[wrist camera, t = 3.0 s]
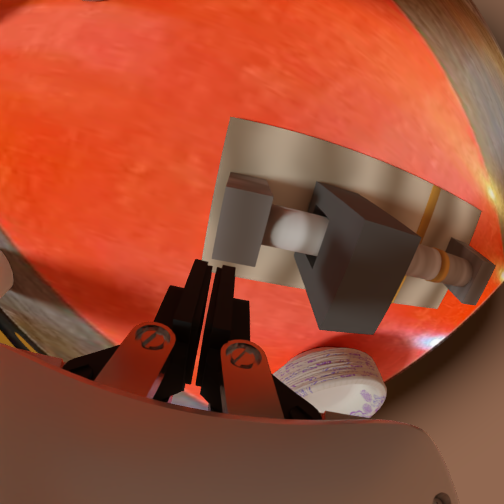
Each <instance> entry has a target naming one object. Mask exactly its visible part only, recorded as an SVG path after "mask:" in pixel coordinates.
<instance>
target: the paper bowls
mask: <svg viewBox="0 0 504 504" xmlns="http://www.w3.org/2000/svg"><path fill="white" fill-rule="evenodd" d="M273 375H274V376H275V377H276V378H278V379H279V380H280V381H281V382H283V383H284V384H285V385H287V386H288V387H289V388H290V389H292V390H293V391H294V392H296V393H297V394H298V395H300V396H301V397H302V398H304V399H305V400H306V401H308V402H309V403H310V404H312V405H313V406H314V407H315V408H316V409H317V410H318V411H319V412H320V413H324V412H325V411H330V412H336V413H341V414H347V415H353V416H360V417H367V418H370V417H371V416H372V415H373V414H374V413H375V412H376V411H378V409H379V408H380V407H381V406H382V404H383V402H384V400H385V398H386V393H387V388H386V386H385V384H384V382H383V379H382V377H381V374H380V372H379V370H378V368H377V366H376V364H375V362H374V360H373V359H372V357H370V356H369V355H368V354H366V353H365V352H362V351H360V350H356V349H351V348H335V347H322V348H316V349H312V350H308V351H306V352H303V353H301V354H299V355H297V356H295V357H294V358H292V359H291V360H289V361H288V362H287V363H286V364H285V365H284V366H283V367H281V368H280V369H279V370H278V371H276V372H275V373H274V374H273Z"/></svg>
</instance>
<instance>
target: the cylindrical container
mask: <svg viewBox="0 0 504 504" xmlns="http://www.w3.org/2000/svg"><path fill="white" fill-rule="evenodd" d="M13 282H14V278H13V273H12V269H11V266H10V264H9V262H8V260H7V258H6V257H5V255H4V254H3V252H2V251H1V250H0V298H1V297H2V296H3V295H4V294H5V293H6V292H7V291H8V290H9V289H10V288H11V287H12V286H13Z"/></svg>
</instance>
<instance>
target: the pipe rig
mask: <svg viewBox="0 0 504 504" xmlns="http://www.w3.org/2000/svg"><path fill="white" fill-rule="evenodd" d="M316 181H318V182H321V183H325V184H328V185H332V186H335V187H338V188H342V189H345V190H348V191H351V192H355V193H358V194H359V195H361V196H363V197H364V198H366V199H367V200H369V201H370V202H372V203H373V204H375V205H376V206H378V207H379V208H381V209H382V210H384V211H385V212H387V213H388V214H390V215H391V216H393V217H394V218H395V219H397V220H398V221H400V222H401V223H403V224H404V225H405V226H407V227H408V228H409V229H411V230H412V231H414V232H415V233H416V234H418V235H419V236H420V237H422V238H421V241H420V243H419V245H418V248H417V250H416V252H415V255H414V257H413V259H412V261H411V264H410V266H409V268H408V270H407V272H406V274H405V277H404V279H403V281H402V283H401V285H400V287H399V289H398V291H397V293H396V295H395V297H394V299H393V300H392V302H391V303H397V304H405V305H412V306H419V307H427V308H435V309H437V308H438V307H439V305H440V303H441V301H442V299H443V298H444V296H445V294H446V292H447V290H448V289H449V290H450V291H451V292H452V293H453V294H454V295H455V296H456V297H457V298H458V300H459V301H460V302H461V303H464V304H470V305H476V304H477V302H478V300H479V298H480V296H481V294H482V293H483V291H484V289H485V287H486V285H487V283H488V281H489V279H490V277H491V275H492V273H493V270H494V268H495V265H494V264H493V263H492V262H490V261H489V260H488V259H486V258H485V257H484V256H483V255H481V254H480V253H479V252H477V251H476V250H474V249H473V248H472V247H470V246H469V243H470V241H471V238H472V236H473V233H474V231H475V228H476V225H477V223H478V220H479V217H480V214H481V210H479V209H477V208H476V207H474V206H472V205H470V204H469V203H467V202H465V201H463V200H462V199H460V198H458V197H456V196H454V195H453V194H451V193H449V192H447V191H445V190H443V189H441V188H439V187H437V186H435V185H433V184H431V183H429V182H427V181H425V180H423V179H421V178H419V177H417V176H414V175H412V174H410V173H408V172H406V171H403V170H401V169H399V168H397V167H394V166H392V165H389V164H387V163H385V162H382V161H380V160H377V159H375V158H372V157H370V156H367V155H364V154H362V153H359V152H356V151H353V150H351V149H348V148H345V147H342V146H339V145H336V144H333V143H330V142H327V141H324V140H321V139H318V138H314V137H311V136H308V135H304V134H301V133H297V132H293V131H290V130H286V129H282V128H278V127H274V126H270V125H266V124H262V123H258V122H253V121H249V120H244V119H239V118H234V117H230V121H229V125H228V130H227V134H226V138H225V143H224V147H223V152H222V156H221V161H220V166H219V170H218V175H217V180H216V185H215V190H214V195H213V200H212V205H211V211H210V216H209V222H208V227H207V233H206V238H205V244H204V250H203V256H202V260H203V261H207V262H208V265H210V266H213V268H212V272H214V273H216V269H217V267H220V268H222V266H223V265H227V266H232V267H236V271H235V277H240V278H245V279H250V280H256V281H261V282H267V283H272V284H278V285H284V286H289V287H295V288H301V289H305V286H304V283H303V281H302V278H301V275H300V272H299V269H298V267H297V264H296V261H295V258H294V253H295V252H299V253H304V254H309V255H314V256H317V255H318V252H319V250H320V247H321V244H322V241H323V238H324V235H325V232H326V229H327V226H328V223H329V220H330V219H329V218H328V217H324V216H320V215H316V214H312V213H308V212H307V211H308V208H309V205H310V201H311V198H312V195H313V191H314V188H315V184H316Z"/></svg>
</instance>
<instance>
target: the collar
mask: <svg viewBox="0 0 504 504" xmlns="http://www.w3.org/2000/svg"><path fill="white" fill-rule="evenodd" d="M307 212H308V213H312V214H316V215H320V216H324V217H328V218H329V219H330V220H329V223H328V226H327V229H326V232H325V235H324V238H323V241H322V244H321V247H320V250H319V252H318V255H317V256H314V255H309V254H304V253H299V252H295V253H294V258H295V261H296V264H297V267H298V269H299V272H300V275H301V278H302V281H303V283H304V286H305V289H306V292H307V295H308V298H309V300H310V303H311V306H312V309H313V312H314V315H315V318H316V321H317V324H318V327H319V330H327V331H336V332H347V333H358V334H371V335H373V334H374V333H375V331H376V329H377V328H378V326H379V324H380V322H381V321H382V319H383V317H384V315H385V313H386V312H387V310H388V308H389V306H390V304H391V302H392V300H393V299H394V297H395V295H396V293H397V291H398V289H399V287H400V285H401V283H402V281H403V279H404V277H405V274H406V272H407V270H408V268H409V266H410V264H411V261H412V259H413V257H414V255H415V252H416V250H417V248H418V245H419V243H420V241H421V238H422V237H420V236H419V235H418V234H416V233H415V232H414V231H412V230H411V229H409V228H408V227H407V226H405V225H404V224H403V223H401V222H400V221H398V220H397V219H395V218H394V217H393V216H391V215H390V214H388V213H387V212H385V211H384V210H382V209H381V208H379V207H378V206H376V205H375V204H373V203H372V202H370V201H369V200H367V199H366V198H364V197H363V196H361V195H359V194H358V193H355V192H351V191H348V190H345V189H342V188H338V187H335V186H332V185H328V184H325V183H321V182H318V181H316V184H315V188H314V191H313V195H312V198H311V201H310V205H309V208H308V211H307Z"/></svg>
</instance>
